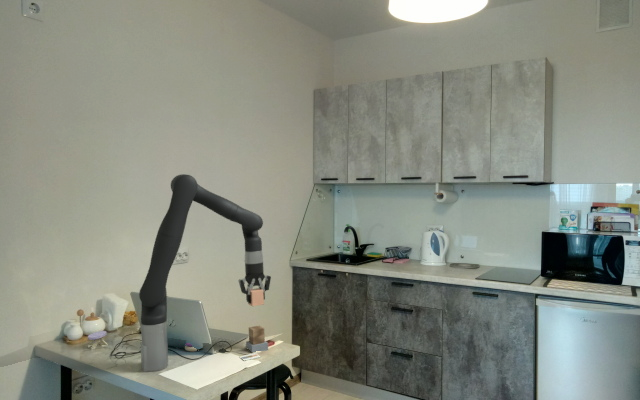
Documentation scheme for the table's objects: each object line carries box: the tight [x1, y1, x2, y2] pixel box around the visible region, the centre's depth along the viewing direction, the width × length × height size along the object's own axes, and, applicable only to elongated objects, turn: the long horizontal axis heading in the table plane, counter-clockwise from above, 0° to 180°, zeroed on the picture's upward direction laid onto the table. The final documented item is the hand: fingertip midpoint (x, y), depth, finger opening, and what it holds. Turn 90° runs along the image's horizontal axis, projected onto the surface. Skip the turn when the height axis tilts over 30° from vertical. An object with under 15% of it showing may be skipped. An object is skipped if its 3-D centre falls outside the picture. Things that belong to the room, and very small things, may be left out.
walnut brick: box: [248, 325, 266, 345], centre depth 188 cm, size 5×5×6 cm
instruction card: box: [239, 353, 261, 362], centre depth 179 cm, size 7×5×1 cm
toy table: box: [87, 330, 109, 349], centre depth 197 cm, size 10×9×6 cm
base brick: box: [245, 340, 269, 354], centre depth 188 cm, size 7×7×3 cm
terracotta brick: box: [247, 287, 265, 307], centre depth 188 cm, size 5×5×6 cm
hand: (255, 301), depth 188 cm, fingers closed on terracotta brick, 5 cm apart
